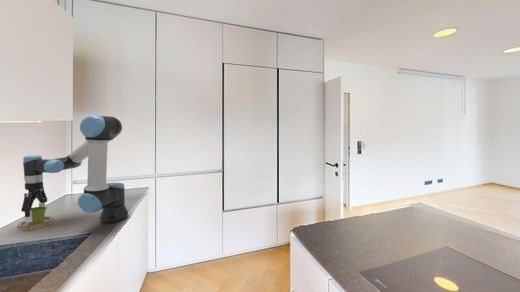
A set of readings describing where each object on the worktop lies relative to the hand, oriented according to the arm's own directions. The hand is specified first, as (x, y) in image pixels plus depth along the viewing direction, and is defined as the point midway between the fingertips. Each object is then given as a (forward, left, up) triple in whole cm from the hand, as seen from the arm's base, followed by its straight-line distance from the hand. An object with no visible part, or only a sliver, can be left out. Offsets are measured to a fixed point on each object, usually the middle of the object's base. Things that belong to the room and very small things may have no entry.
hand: (36, 217), depth 131 cm
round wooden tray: (0, 0, -4) cm, 4 cm away
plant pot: (0, 0, -4) cm, 4 cm away
